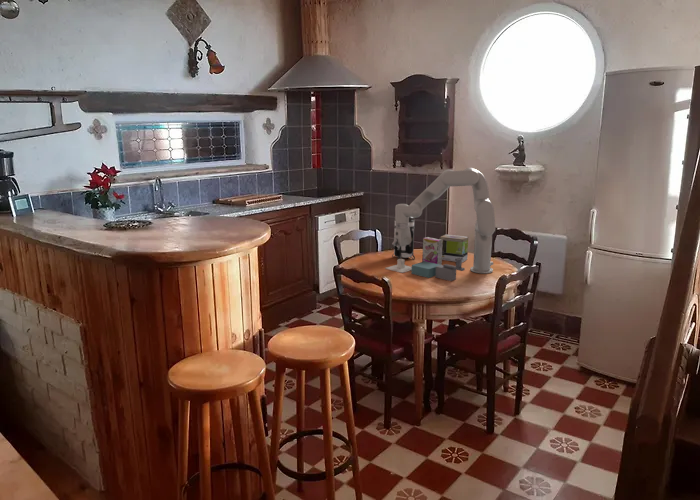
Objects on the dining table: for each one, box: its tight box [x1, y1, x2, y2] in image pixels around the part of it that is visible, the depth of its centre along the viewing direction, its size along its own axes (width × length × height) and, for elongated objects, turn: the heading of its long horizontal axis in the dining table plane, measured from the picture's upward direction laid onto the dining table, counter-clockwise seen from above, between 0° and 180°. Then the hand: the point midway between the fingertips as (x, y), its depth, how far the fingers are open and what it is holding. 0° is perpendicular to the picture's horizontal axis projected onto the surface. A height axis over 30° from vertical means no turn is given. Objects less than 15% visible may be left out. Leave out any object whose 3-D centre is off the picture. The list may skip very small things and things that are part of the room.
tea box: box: [439, 234, 469, 263], centre depth 337 cm, size 15×10×15 cm
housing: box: [410, 261, 457, 282], centre depth 304 cm, size 12×24×6 cm, turn 46°
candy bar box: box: [421, 236, 443, 265], centre depth 323 cm, size 11×5×16 cm, turn 47°
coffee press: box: [391, 216, 416, 260], centre depth 338 cm, size 17×16×30 cm
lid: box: [384, 258, 412, 274], centre depth 318 cm, size 13×13×6 cm
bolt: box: [442, 257, 466, 272], centre depth 294 cm, size 5×12×6 cm, turn 46°
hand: (402, 254), depth 317 cm, fingers open, 9 cm apart
